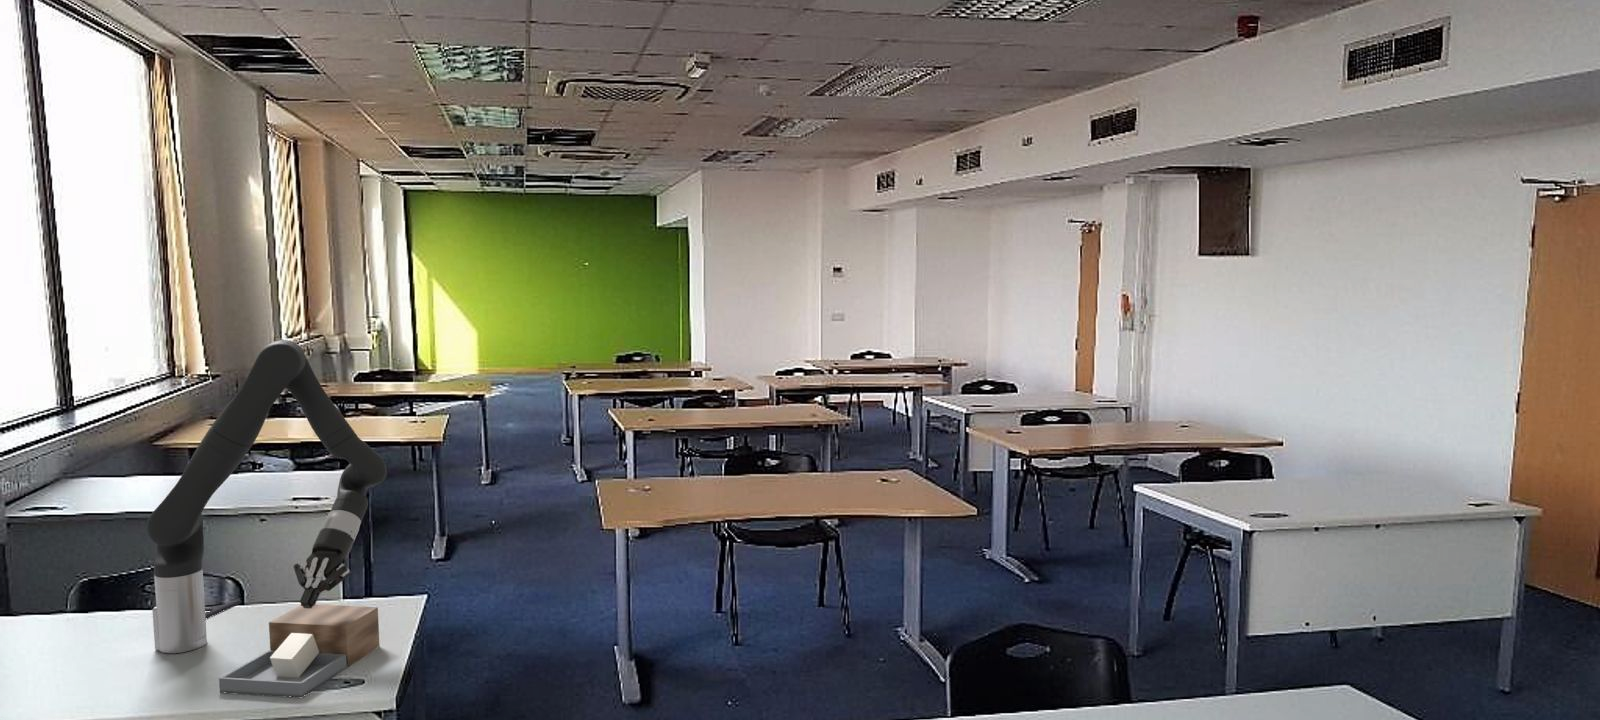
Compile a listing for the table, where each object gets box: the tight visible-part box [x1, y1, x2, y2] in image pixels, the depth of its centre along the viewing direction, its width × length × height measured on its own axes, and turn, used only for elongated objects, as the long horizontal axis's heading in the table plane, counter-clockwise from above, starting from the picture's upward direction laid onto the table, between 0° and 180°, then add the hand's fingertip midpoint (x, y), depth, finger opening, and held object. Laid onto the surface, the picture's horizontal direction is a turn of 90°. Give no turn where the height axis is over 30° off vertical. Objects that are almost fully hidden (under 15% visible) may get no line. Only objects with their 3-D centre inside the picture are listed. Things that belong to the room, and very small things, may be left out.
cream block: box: [270, 633, 319, 678], centre depth 211 cm, size 5×5×8 cm
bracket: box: [205, 598, 242, 619], centre depth 251 cm, size 14×15×3 cm
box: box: [218, 649, 348, 698], centre depth 209 cm, size 18×15×3 cm
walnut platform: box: [268, 603, 380, 668], centre depth 222 cm, size 18×12×9 cm, turn 82°
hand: (305, 606), depth 215 cm, fingers closed
